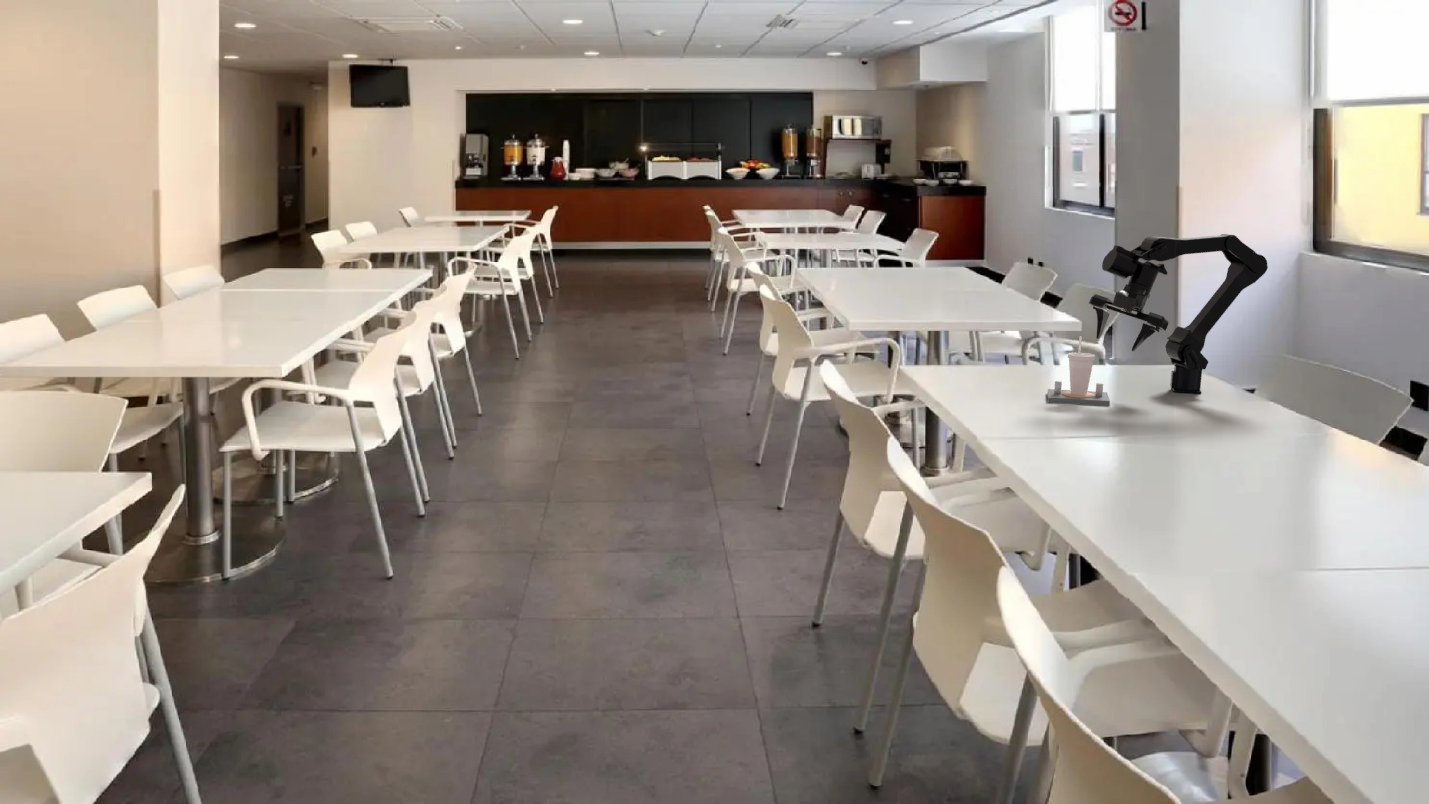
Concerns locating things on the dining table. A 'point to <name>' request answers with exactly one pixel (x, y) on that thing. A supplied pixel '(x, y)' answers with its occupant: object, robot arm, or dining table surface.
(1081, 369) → the smoothie
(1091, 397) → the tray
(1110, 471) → the dining table surface
